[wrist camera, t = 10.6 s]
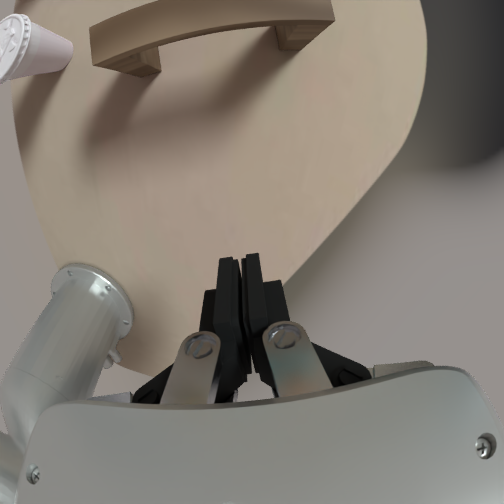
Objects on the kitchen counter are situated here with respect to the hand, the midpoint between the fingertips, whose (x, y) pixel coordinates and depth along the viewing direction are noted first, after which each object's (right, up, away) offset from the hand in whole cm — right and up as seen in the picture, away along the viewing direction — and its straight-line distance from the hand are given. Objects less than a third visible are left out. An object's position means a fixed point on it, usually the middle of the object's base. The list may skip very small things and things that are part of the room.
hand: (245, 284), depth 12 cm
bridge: (-3, +19, +6) cm, 21 cm away
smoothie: (-19, +21, +5) cm, 29 cm away
